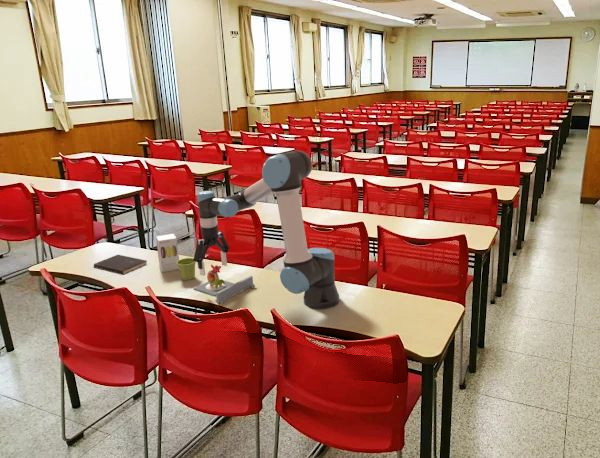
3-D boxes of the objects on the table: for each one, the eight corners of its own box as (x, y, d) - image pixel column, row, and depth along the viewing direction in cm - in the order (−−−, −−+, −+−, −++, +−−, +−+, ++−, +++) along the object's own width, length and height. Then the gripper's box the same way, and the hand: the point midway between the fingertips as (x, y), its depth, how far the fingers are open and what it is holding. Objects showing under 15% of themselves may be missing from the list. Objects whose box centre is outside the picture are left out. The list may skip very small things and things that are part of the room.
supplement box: (161, 272, 247) (157, 241, 242) (159, 266, 256) (154, 236, 251) (180, 268, 251) (177, 237, 246) (177, 263, 259) (173, 233, 254)
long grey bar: (255, 285, 226) (254, 276, 225) (221, 303, 210) (220, 294, 208) (249, 284, 229) (248, 275, 227) (214, 301, 212) (213, 292, 211)
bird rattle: (207, 292, 226) (219, 288, 220) (198, 269, 225) (210, 265, 220) (216, 287, 231) (228, 283, 225) (207, 265, 230) (220, 261, 224)
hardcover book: (118, 258, 272) (117, 254, 271) (147, 264, 261) (147, 260, 260) (93, 268, 259) (93, 264, 258) (123, 275, 248) (122, 271, 247)
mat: (236, 285, 228) (236, 284, 228) (214, 296, 217) (214, 294, 217) (215, 279, 236) (215, 277, 236) (193, 289, 226) (193, 288, 225)
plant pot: (175, 281, 236) (173, 264, 233) (184, 273, 245) (182, 257, 242) (192, 282, 234) (190, 265, 231) (201, 274, 242) (199, 258, 240)
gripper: (223, 217, 230) (227, 260, 236) (181, 232, 211) (187, 277, 217) (234, 219, 225) (238, 262, 231) (193, 234, 206) (198, 281, 213)
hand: (213, 270), depth 224 cm, fingers open, 13 cm apart
